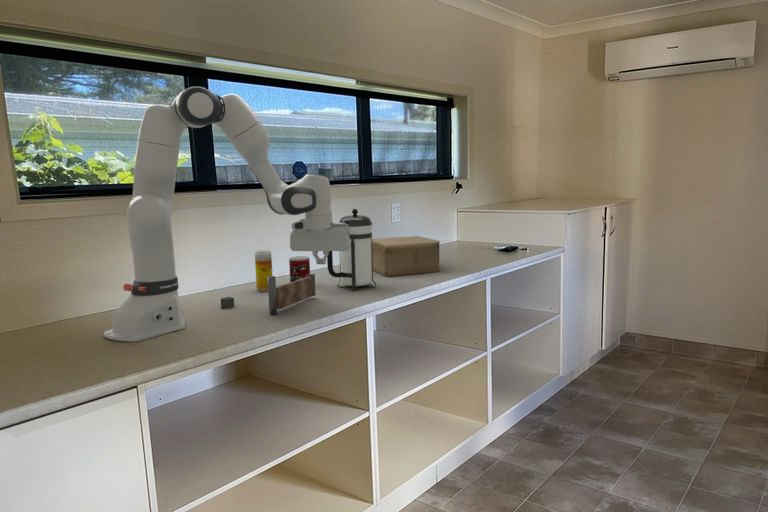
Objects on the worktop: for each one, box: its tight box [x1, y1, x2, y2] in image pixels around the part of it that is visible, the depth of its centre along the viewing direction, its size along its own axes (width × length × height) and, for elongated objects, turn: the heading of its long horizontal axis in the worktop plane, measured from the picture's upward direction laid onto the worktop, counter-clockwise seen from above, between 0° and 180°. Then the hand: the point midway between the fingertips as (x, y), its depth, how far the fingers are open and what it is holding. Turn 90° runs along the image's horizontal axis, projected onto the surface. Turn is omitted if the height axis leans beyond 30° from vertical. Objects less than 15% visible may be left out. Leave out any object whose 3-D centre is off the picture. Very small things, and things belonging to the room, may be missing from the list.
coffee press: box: [326, 208, 377, 292], centre depth 203 cm, size 17×16×30 cm
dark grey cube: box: [220, 296, 235, 309], centre depth 180 cm, size 3×3×3 cm
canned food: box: [288, 255, 311, 283], centre depth 211 cm, size 8×8×11 cm
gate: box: [276, 273, 317, 310], centre depth 181 cm, size 21×2×8 cm, turn 155°
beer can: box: [254, 249, 273, 292], centre depth 203 cm, size 6×6×15 cm
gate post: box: [267, 275, 278, 316], centre depth 169 cm, size 2×2×12 cm
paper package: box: [372, 235, 441, 277], centre depth 239 cm, size 27×26×14 cm
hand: (321, 264), depth 181 cm, fingers closed
